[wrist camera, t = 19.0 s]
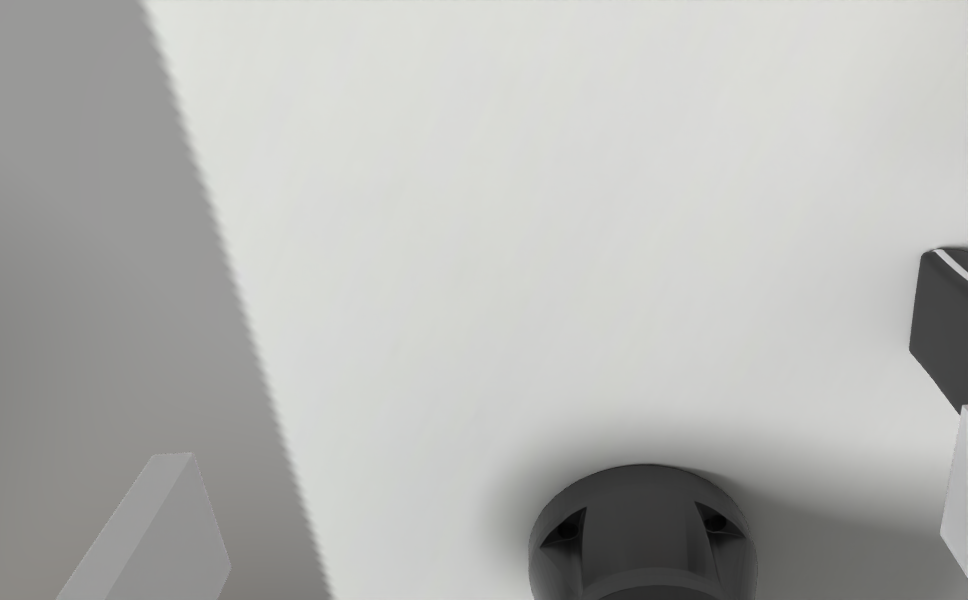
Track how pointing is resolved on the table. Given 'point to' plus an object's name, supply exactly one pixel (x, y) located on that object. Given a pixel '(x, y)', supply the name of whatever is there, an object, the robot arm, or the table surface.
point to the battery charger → (943, 322)
